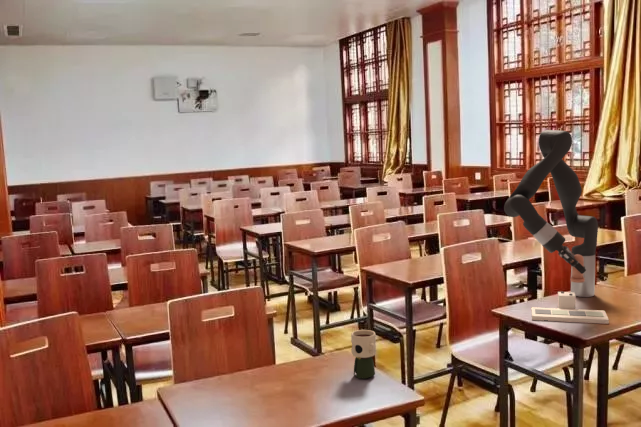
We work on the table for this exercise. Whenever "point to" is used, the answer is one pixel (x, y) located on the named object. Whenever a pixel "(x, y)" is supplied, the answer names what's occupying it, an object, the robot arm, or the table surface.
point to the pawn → (576, 274)
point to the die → (566, 300)
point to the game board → (569, 315)
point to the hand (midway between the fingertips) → (583, 270)
